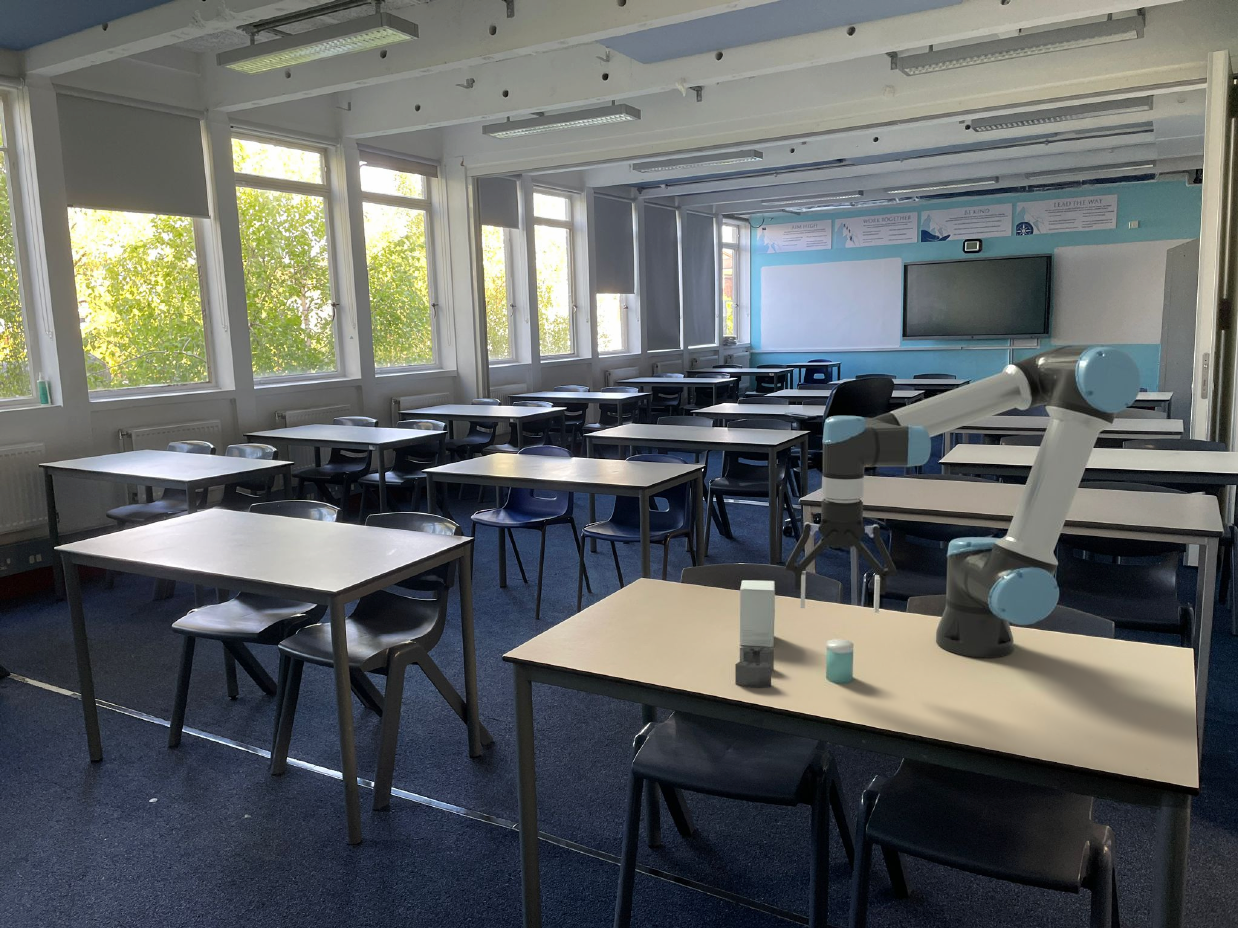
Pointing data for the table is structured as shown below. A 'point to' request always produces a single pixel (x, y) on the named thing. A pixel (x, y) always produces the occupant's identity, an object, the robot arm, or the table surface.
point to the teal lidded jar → (839, 661)
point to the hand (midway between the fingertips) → (839, 608)
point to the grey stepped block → (754, 667)
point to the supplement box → (757, 613)
